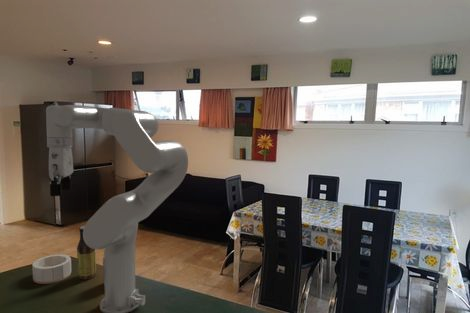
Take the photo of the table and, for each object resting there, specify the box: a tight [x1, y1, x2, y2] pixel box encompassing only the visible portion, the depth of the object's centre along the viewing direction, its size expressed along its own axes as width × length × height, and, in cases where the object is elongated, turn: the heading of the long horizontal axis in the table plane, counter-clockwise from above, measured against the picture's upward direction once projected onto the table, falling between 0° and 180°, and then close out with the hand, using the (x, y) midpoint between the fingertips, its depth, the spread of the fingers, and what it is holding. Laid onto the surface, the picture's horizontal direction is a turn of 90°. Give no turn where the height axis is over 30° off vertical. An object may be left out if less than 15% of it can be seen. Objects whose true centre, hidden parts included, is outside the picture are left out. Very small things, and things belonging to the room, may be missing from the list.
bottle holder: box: [31, 253, 72, 285], centre depth 123 cm, size 13×13×6 cm
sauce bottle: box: [76, 225, 97, 280], centre depth 122 cm, size 6×6×20 cm
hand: (61, 192), depth 110 cm, fingers open, 9 cm apart
